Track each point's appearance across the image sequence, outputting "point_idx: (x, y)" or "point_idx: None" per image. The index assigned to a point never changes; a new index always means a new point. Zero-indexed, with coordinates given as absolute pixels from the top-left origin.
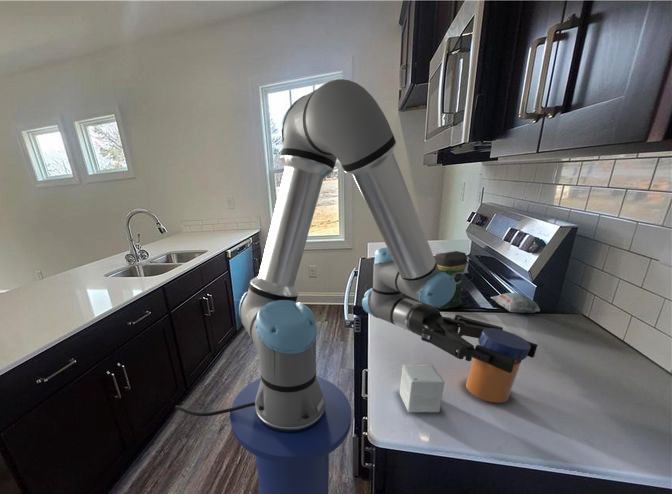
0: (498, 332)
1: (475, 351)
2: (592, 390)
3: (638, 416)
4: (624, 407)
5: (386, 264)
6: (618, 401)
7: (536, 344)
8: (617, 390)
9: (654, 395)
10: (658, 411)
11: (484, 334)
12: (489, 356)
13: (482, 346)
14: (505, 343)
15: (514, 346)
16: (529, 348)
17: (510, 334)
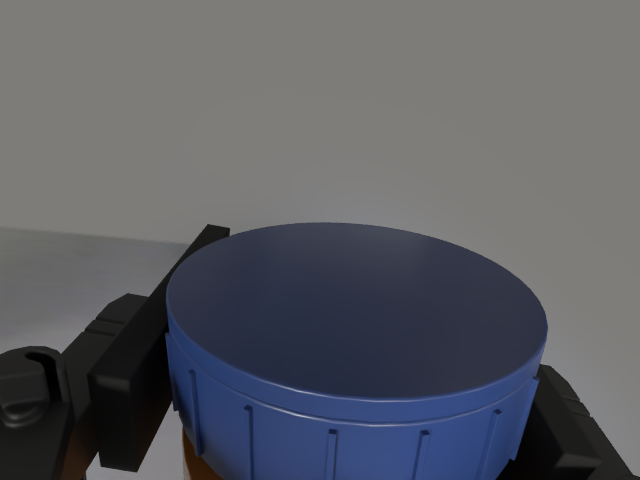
0: (302, 309)
1: (618, 457)
2: (50, 306)
3: (147, 259)
4: (119, 270)
5: None
6: (92, 275)
7: (208, 226)
8: (23, 273)
9: (22, 237)
10: (103, 241)
11: (539, 355)
12: (546, 368)
13: (542, 413)
14: (457, 260)
15: (423, 242)
16: (339, 223)
17: (222, 272)
